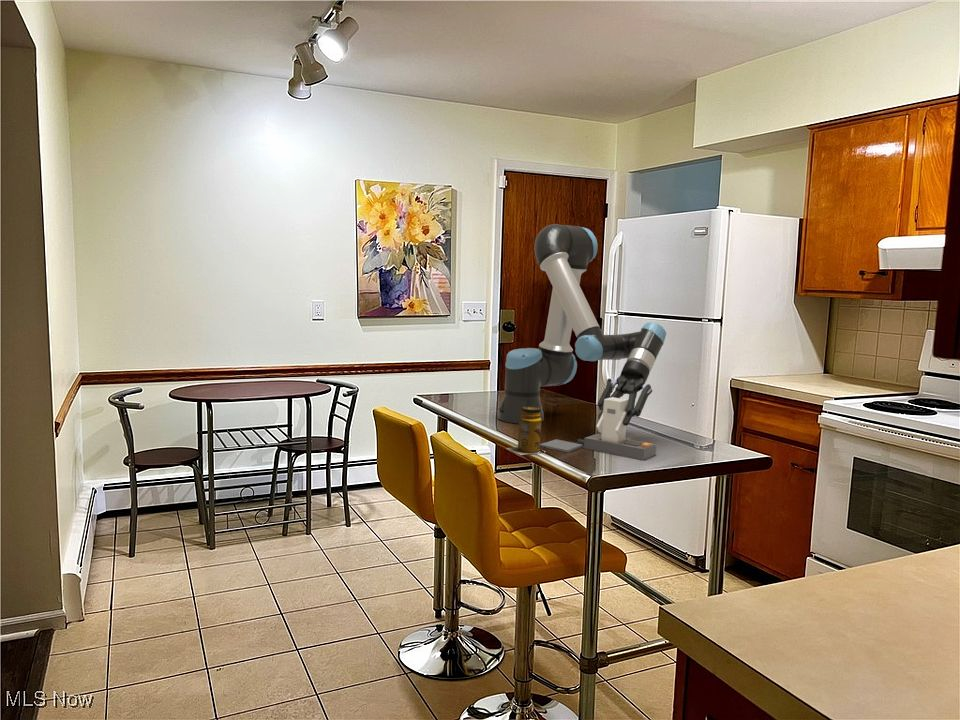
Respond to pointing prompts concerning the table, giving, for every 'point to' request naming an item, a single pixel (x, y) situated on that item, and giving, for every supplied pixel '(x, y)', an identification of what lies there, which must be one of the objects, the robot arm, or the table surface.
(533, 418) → the condiment
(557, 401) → the table surface
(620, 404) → the block
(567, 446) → the mat
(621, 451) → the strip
